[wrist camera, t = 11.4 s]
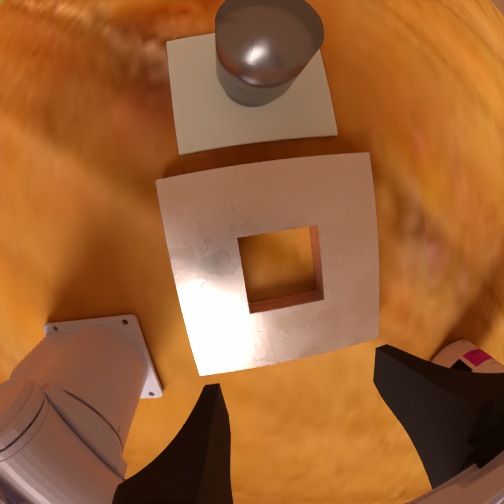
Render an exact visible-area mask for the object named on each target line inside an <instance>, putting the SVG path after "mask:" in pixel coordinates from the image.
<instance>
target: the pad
mask: <svg viewBox="0 0 504 504" xmlns="http://www.w3.org/2000/svg"><path fill="white" fill-rule="evenodd" d="M167 54H168V66H169V76H170V86H171V96H172V104H173V113H174V121H175V129H176V137H177V144H178V151H179V155H184V154H190V153H195V152H200V151H206V150H212V149H218V148H224V147H231V146H238V145H245V144H252V143H260V142H269V141H278V140H288V139H299V138H312V137H327V136H337V135H338V132H337V126H336V120H335V115H334V110H333V105H332V100H331V95H330V90H329V86H328V81H327V77H326V72H325V68H324V64H323V60H322V56H321V52H320V48H319V50H318V51H317V52H316V54H315V55H314V56H313V57H312V59H311V60H310V61H309V63H308V64H307V65H306V67H305V68H304V69H303V71H302V72H301V73H300V75H299V76H298V77H297V79H296V80H295V81H294V83H293V84H292V85H291V87H290V88H289V89H288V91H287V92H286V93H285V94H284V95H282V96H281V97H279V98H278V99H276V100H273V101H271V102H270V103H268V104H266V105H263V106H260V107H245V106H242V105H239V104H237V103H235V102H234V101H232V100H231V99H230V98H229V97H228V96H227V94H226V93H225V91H224V89H223V87H222V86H221V84H220V83H219V81H218V78H217V74H216V47H215V33H212V34H205V35H198V36H192V37H187V38H181V39H176V40H171V41H167Z"/></svg>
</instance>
